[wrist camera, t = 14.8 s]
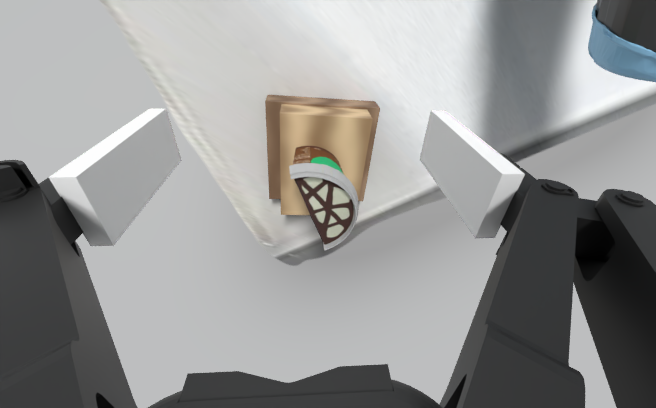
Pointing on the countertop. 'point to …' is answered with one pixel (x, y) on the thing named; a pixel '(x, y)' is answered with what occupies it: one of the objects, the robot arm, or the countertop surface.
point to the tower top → (322, 145)
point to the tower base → (276, 101)
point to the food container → (325, 193)
